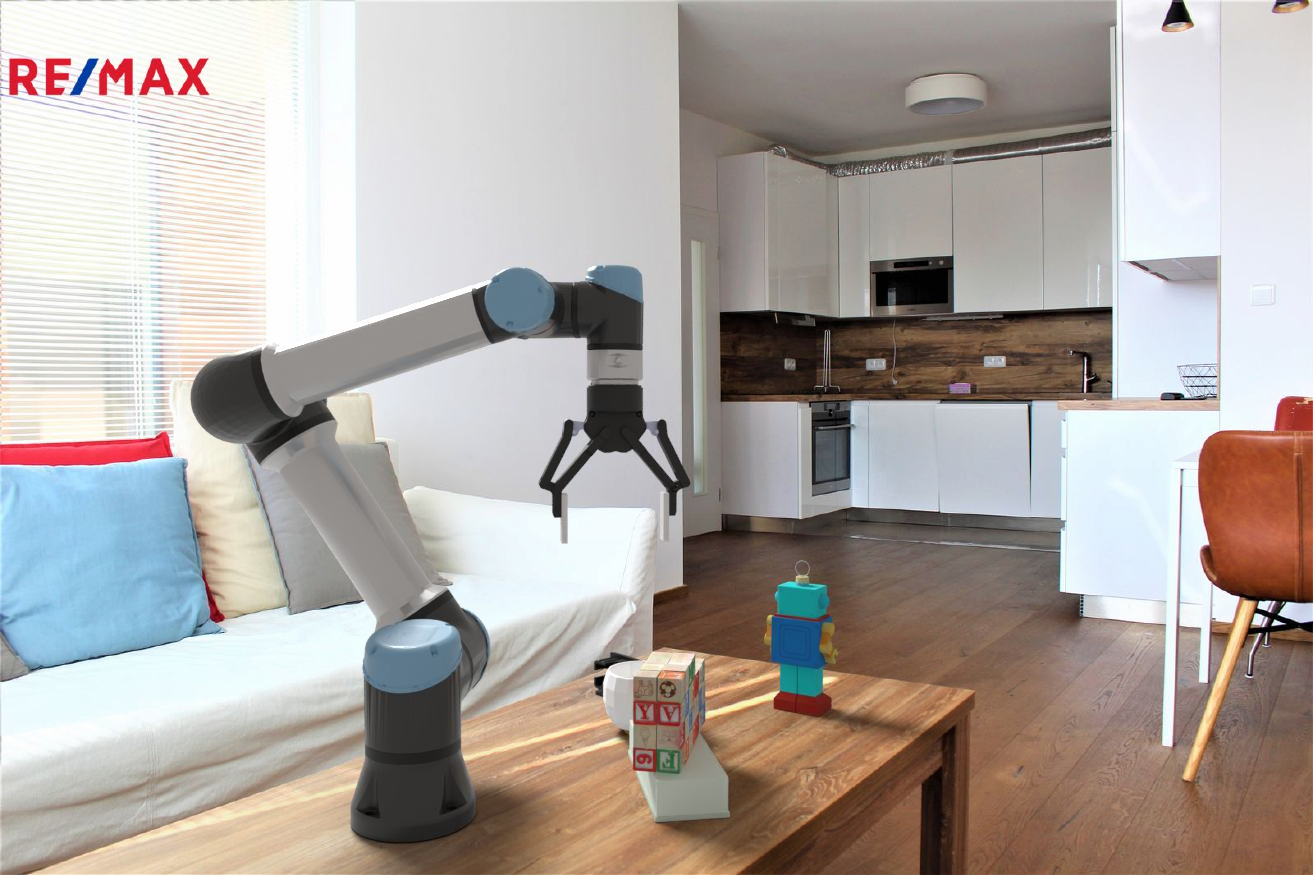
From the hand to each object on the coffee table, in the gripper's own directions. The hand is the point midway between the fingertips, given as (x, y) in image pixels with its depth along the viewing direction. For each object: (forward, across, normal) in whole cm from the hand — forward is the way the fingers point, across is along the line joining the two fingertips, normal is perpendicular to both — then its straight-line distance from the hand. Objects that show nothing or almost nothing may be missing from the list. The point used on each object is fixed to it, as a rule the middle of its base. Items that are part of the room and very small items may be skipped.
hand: (614, 541), depth 139 cm
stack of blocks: (+28, +8, -1) cm, 29 cm away
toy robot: (+33, +35, +27) cm, 55 cm away
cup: (+33, +7, +20) cm, 39 cm away
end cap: (+33, +7, +39) cm, 52 cm away
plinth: (+33, +8, -2) cm, 34 cm away
